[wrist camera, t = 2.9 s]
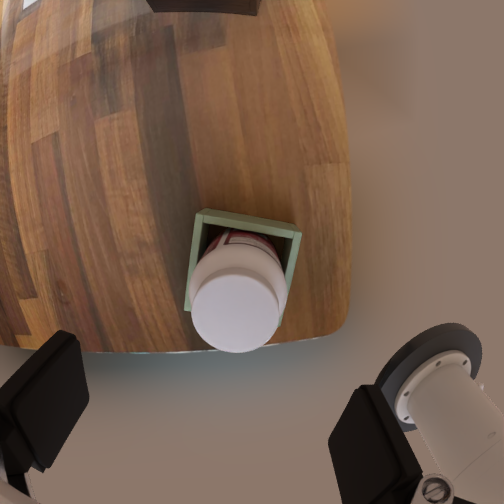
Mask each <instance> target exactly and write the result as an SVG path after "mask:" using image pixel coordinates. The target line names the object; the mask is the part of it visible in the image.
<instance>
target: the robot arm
mask: <svg viewBox="0 0 504 504" xmlns="http://www.w3.org/2000/svg"><path fill="white" fill-rule="evenodd" d="M470 373H471V362H470V360H469V358H468V357H467V356H466V355H465V354H464V353H463V352H462V351H458V350H449V351H444V352H442V353H439V354H437V355H435V356H433V357H432V358H430V359H428V360H427V361H426V362H424V363H423V364H421V365H420V366H419V367H418V368H417V369H416V370H415V371H414V372H413V373H412V374H411V375H410V376H409V377H408V378H407V380H406V381H405V382H404V383H403V385H402V386H401V388H400V390H399V391H398V394H397V396H396V399H395V404H394V408H395V412H396V414H397V416H398V418H399V419H400V420H401V421H402V422H405V423H412V424H414V423H415V425H416V427H417V428H418V430H419V432H420V434H421V436H422V438H423V439H424V441H425V443H426V445H427V447H428V449H429V451H430V452H431V454H432V456H433V458H434V460H435V462H436V464H437V466H438V468H439V470H440V472H441V473H442V475H441V474H429V475H426V476H425V477H423V475H422V472H423V471H422V469H421V467H420V465H419V463H418V461H417V459H416V457H415V455H414V453H413V451H412V449H411V447H410V445H409V443H408V441H407V439H406V437H405V435H404V433H403V431H402V429H401V427H400V425H399V423H398V421H397V419H396V417H395V415H394V413H393V411H392V410H391V408H390V406H389V404H388V402H387V400H386V398H385V396H384V395H383V393H382V391H381V389H380V387H379V386H378V385H361V386H360V387H359V388H358V389H355V390H354V392H353V394H352V396H351V398H350V400H349V402H348V404H347V406H346V408H345V410H344V411H343V413H342V415H341V417H340V419H339V421H338V422H337V424H336V426H335V428H334V430H333V431H332V433H331V435H330V437H329V440H328V446H329V450H330V454H331V458H332V462H333V467H334V471H335V475H336V479H337V483H338V487H339V491H340V495H341V500H342V504H504V415H503V414H502V413H501V411H500V410H499V409H498V408H497V407H496V405H495V404H494V403H493V402H492V401H491V400H490V398H489V397H488V396H487V395H486V394H485V393H484V391H483V388H484V385H483V383H476V382H475V381H474V380H473V379H472V378H471V377H470ZM88 402H89V392H88V387H87V383H86V378H85V372H84V367H83V361H82V355H81V348H80V342H79V341H78V340H77V339H76V336H75V335H74V334H71V333H68V332H66V331H63V330H59V331H57V332H56V333H55V334H54V335H53V336H52V337H51V338H50V339H49V340H48V341H47V342H45V343H44V344H43V345H42V346H41V347H40V348H39V349H38V350H37V351H36V352H35V353H34V354H33V355H32V356H31V357H30V358H29V359H28V360H27V361H26V362H25V363H24V364H23V365H22V366H21V367H20V368H19V369H18V370H17V371H16V372H15V373H14V374H13V375H12V376H11V377H10V378H9V379H8V381H7V382H6V383H5V384H4V385H3V386H2V387H1V388H0V504H40V503H38V502H37V501H36V498H35V495H34V492H33V489H32V486H31V482H30V478H29V475H28V470H29V468H30V467H33V468H35V469H37V470H38V471H40V472H42V473H43V472H44V471H45V469H46V468H50V467H51V466H52V464H53V462H54V460H55V459H56V457H57V455H58V453H59V452H60V450H61V448H62V446H63V444H64V443H65V441H66V439H67V438H68V436H69V434H70V433H71V431H72V429H73V428H74V426H75V424H76V422H77V421H78V419H79V417H80V416H81V414H82V413H83V411H84V409H85V408H86V406H87V404H88Z"/></svg>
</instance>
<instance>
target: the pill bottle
mask: <svg viewBox="0 0 504 504" xmlns="http://www.w3.org/2000/svg"><path fill="white" fill-rule="evenodd" d="M189 300H190V304H191V316H192V321H193V324H194V326H195V328H196V330H197V332H198V333H199V335H200V336H201V337H202V338H203V339H204V340H205V341H206V342H207V343H208V344H210V345H211V346H213V347H215V348H217V349H220V350H222V351H226V352H233V353H241V352H248V351H251V350H254V349H256V348H258V347H260V346H262V345H263V344H265V343H266V342H267V341H268V340H269V339H270V338H271V337H272V336H273V334H274V333H275V331H276V329H277V326H278V323H279V318H280V316H281V314H282V312H283V310H284V308H285V305H286V301H287V284H286V280H285V276H284V273H283V270H282V267H281V264H280V261H279V258H278V255H277V252H276V249H275V247H274V245H273V243H272V242H271V240H270V239H269V238H268V237H267V236H266V235H265V234H264V233H258V232H253V231H247V230H242V229H236V228H228V229H226V230H224V231H222V232H220V233H219V234H218V235H217V236H216V237H215V238H214V239H213V240H212V241H211V243H210V244H209V246H208V248H207V249H206V251H205V253H204V254H203V256H202V257H201V259H200V261H199V262H198V264H197V265H196V267H195V269H194V271H193V273H192V276H191V279H190V283H189Z"/></svg>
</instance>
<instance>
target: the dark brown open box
mask: <svg viewBox="0 0 504 504" xmlns="http://www.w3.org/2000/svg"><path fill="white" fill-rule="evenodd" d="M146 1H147V2H148V4H149V5H150V7H151V8H152V10H153V11H154V12H180V11H195V12H221V13H234V14H244V15H253V16H257V13H258V9H259V5H260V1H261V0H146Z"/></svg>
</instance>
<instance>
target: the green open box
mask: <svg viewBox="0 0 504 504" xmlns="http://www.w3.org/2000/svg"><path fill="white" fill-rule="evenodd" d="M209 224H214V225H219V226H225V227H231V228H236V229H242V230H247V231H253V232H258V233H264V234H269V235H275V236H280V237H285V242H284V247H283V251H282V256H281V261H280V264H281V267H282V270H283V273H284V276H285V280H286V284H287V297H288V293H289V289H290V285H291V281H292V276H293V272H294V268H295V264H296V259H297V255H298V251H299V246H300V242H301V237H302V232H301V231H300V230H299V228H298V227H297V226H296V225H295V224H292V223H286V222H281V221H276V220H271V219H265V218H260V217H255V216H249V215H244V214H238V213H232V212H227V211H221V210H215V209H209V208H205V209H203V210H201V211H200V212H198V213H196V217H195V224H194V231H193V238H192V245H191V253H190V261H189V269H188V278H187V286H186V296H185V305H184V310H186V311H191V304H190V300H189V283H190V279H191V276H192V273H193V271H194V269H195V267H196V265H197V264H198V262H199V261H200V259H201V257H202V256H203V254H204V253H205V251H206V244H207V237H208V231H209ZM284 309H285V308H284ZM283 313H284V310H283V312H282V314H281V316H280V318H279V323H278V326H277V327H280V325H281V321H282V317H283Z"/></svg>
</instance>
